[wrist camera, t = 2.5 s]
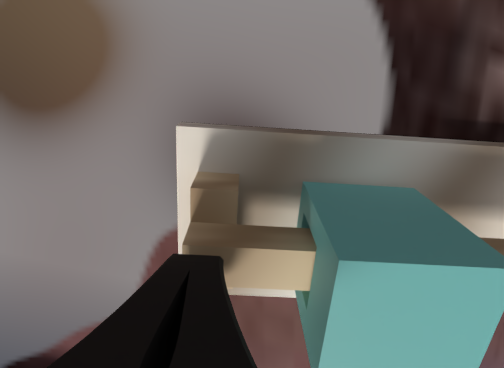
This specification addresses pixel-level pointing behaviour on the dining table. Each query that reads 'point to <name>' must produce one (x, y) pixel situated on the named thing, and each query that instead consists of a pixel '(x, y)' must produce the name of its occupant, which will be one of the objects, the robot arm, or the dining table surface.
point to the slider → (395, 281)
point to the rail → (313, 170)
